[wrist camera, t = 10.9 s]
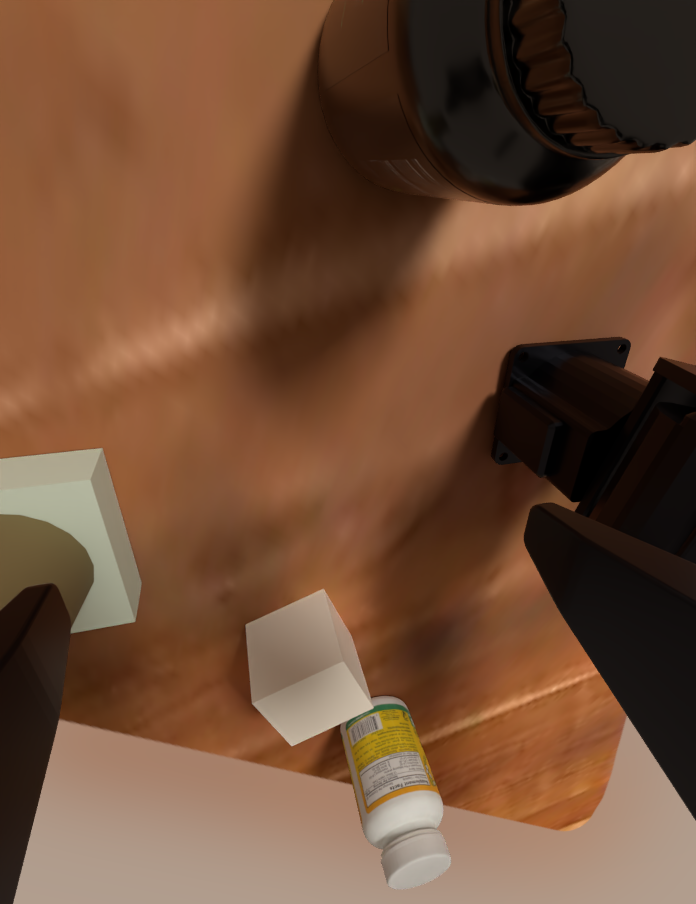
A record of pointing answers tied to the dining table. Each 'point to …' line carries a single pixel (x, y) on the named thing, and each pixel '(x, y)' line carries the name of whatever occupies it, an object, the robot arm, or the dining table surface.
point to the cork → (42, 561)
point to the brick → (305, 669)
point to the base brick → (79, 524)
